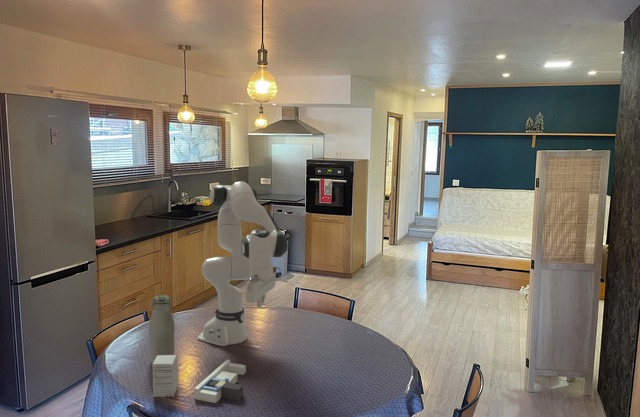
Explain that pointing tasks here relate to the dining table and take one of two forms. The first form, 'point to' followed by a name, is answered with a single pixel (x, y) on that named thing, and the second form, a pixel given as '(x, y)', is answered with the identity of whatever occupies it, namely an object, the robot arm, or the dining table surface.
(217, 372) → the white angular block assembly
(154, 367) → the supplement box
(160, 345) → the glass bottle
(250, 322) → the dining table surface
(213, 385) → the banded gray post
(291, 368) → the dining table surface
